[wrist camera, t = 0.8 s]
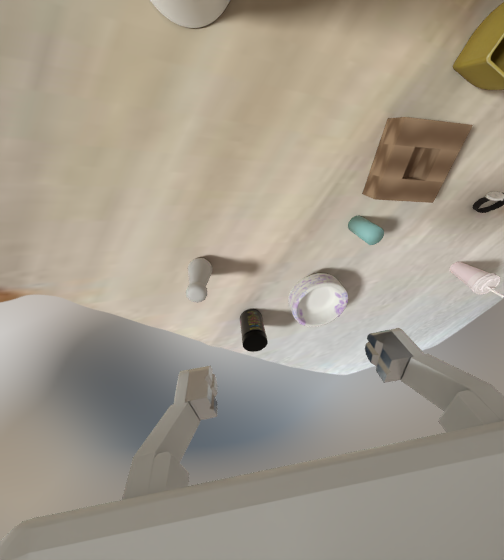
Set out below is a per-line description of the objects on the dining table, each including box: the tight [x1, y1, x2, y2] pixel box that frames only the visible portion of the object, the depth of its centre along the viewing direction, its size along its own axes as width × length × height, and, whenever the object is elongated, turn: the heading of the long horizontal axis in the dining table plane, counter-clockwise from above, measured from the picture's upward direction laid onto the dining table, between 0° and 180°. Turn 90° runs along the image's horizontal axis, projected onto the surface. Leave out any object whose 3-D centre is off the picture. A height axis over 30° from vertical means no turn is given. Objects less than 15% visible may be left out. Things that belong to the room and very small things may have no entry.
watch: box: [473, 192, 504, 213], centre depth 54 cm, size 8×5×4 cm, turn 103°
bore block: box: [362, 117, 473, 203], centre depth 46 cm, size 14×14×5 cm
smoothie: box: [450, 262, 504, 298], centre depth 61 cm, size 6×6×14 cm
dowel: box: [348, 216, 384, 245], centre depth 51 cm, size 4×4×8 cm
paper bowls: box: [288, 273, 348, 327], centre depth 61 cm, size 15×15×8 cm
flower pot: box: [453, 3, 504, 90], centre depth 36 cm, size 9×9×9 cm
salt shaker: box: [186, 258, 212, 302], centre depth 50 cm, size 6×6×13 cm
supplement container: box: [240, 309, 267, 352], centre depth 63 cm, size 7×7×10 cm
